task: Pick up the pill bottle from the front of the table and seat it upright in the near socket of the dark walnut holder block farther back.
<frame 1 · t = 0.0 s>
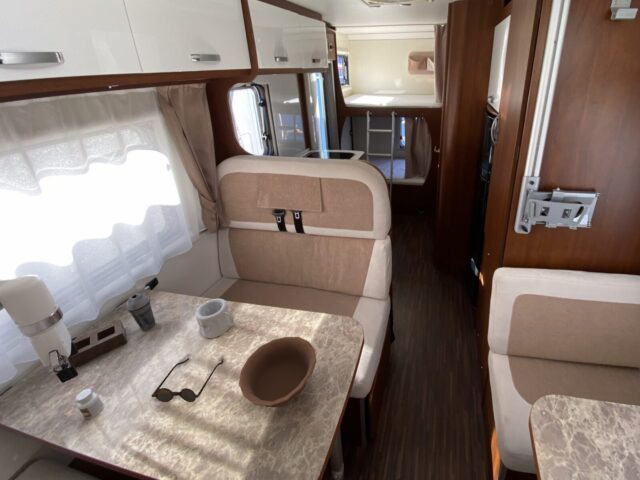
hand: (71, 366, 84), 18 cm above the table, tool pointing down, fingers open, 9 cm apart
bowl: (285, 390, 94), on the table
eyeglasses: (192, 379, 98), on the table
beverage cup: (149, 327, 120), on the table
pill bottle: (94, 411, 90), on the table
holder: (99, 348, 111), on the table
mug: (220, 328, 118), on the table
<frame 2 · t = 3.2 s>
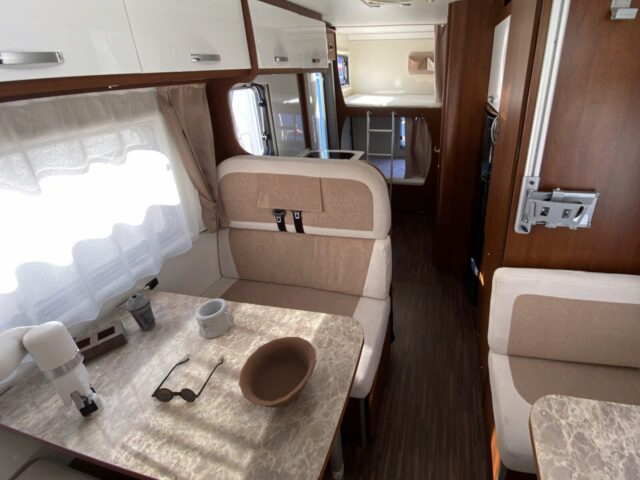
hand: (90, 405, 89), 3 cm above the table, tool pointing down, fingers closed on pill bottle, 4 cm apart
pill bottle: (94, 411, 90), on the table, touching gripper
everything else where it was.
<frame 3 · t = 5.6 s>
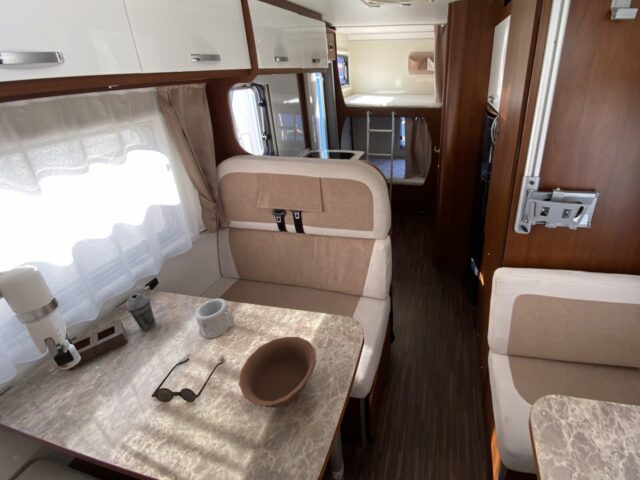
hand: (67, 356, 88), 17 cm above the table, tool pointing down, fingers closed on pill bottle, 4 cm apart
pill bottle: (71, 363, 89), point 14 cm above the table, touching gripper
everything else where it was.
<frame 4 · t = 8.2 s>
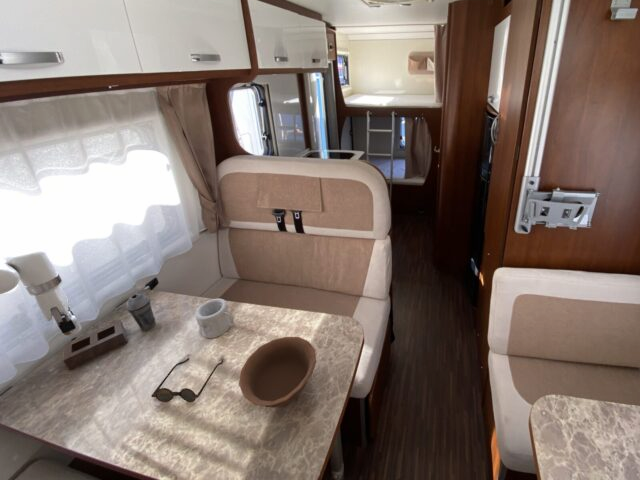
hand: (69, 325, 103), 14 cm above the table, tool pointing down, fingers closed on pill bottle, 4 cm apart
pill bottle: (73, 332, 105), point 11 cm above the table, touching gripper
everything else where it was.
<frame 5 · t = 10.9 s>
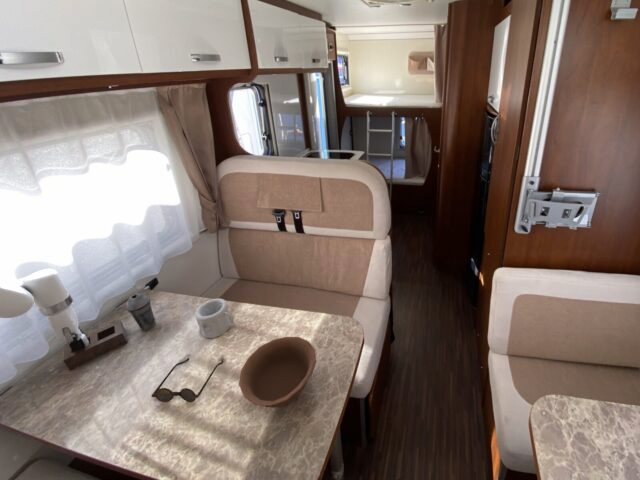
hand: (79, 344, 107), 5 cm above the table, tool pointing down, fingers closed on pill bottle, 4 cm apart
pill bottle: (83, 350, 108), point 2 cm above the table, touching gripper
everything else where it was.
when the fingers open (5 cm above the table, at t = 13.4 s): pill bottle stays where it is, point 2 cm above the table.
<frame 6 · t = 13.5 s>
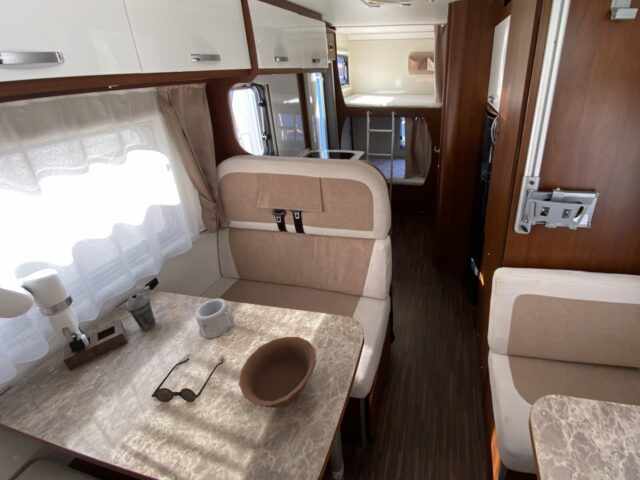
hand: (79, 344, 106), 5 cm above the table, tool pointing down, fingers open, 4 cm apart
pill bottle: (83, 350, 108), point 2 cm above the table
everything else where it was.
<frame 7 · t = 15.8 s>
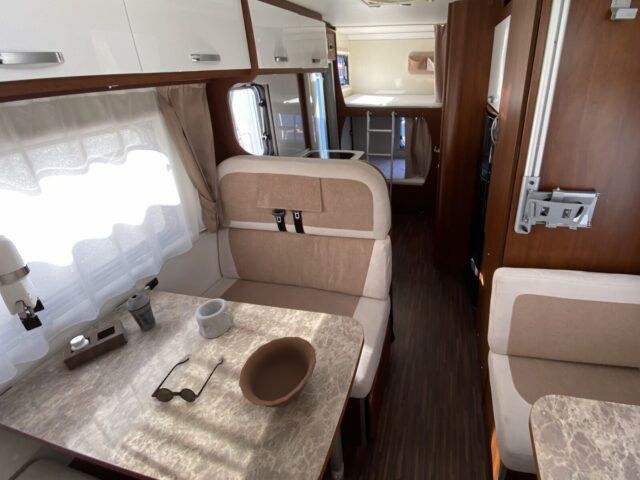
hand: (36, 319, 95), 23 cm above the table, tool pointing down, fingers open, 9 cm apart
pill bottle: (86, 355, 109), resting in holder
everything else where it was.
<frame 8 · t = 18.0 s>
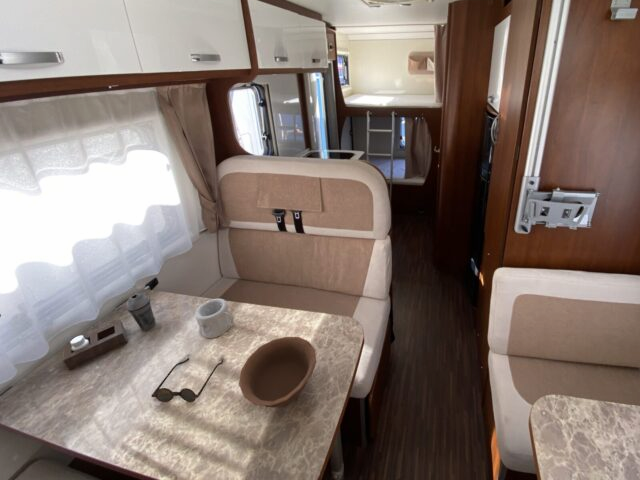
nothing on the table moved.
at the end: pill bottle 0.2 cm from the target spot in the holder, point 0.0 cm above the holder's base; pill bottle tilted 0° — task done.
